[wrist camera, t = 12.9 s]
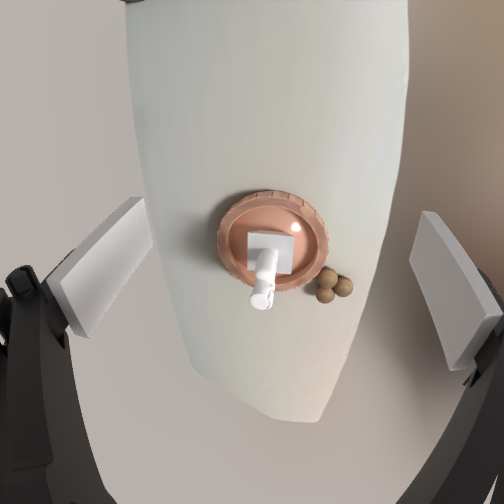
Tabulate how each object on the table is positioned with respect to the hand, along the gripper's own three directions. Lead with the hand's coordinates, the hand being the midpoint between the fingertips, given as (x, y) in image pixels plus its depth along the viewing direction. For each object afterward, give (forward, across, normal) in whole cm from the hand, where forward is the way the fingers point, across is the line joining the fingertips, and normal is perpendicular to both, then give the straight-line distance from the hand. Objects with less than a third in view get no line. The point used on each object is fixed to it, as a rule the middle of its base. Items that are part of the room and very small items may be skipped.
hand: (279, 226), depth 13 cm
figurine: (+31, -3, -20) cm, 37 cm away
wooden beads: (+32, +8, -28) cm, 43 cm away
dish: (+32, -3, -20) cm, 38 cm away
